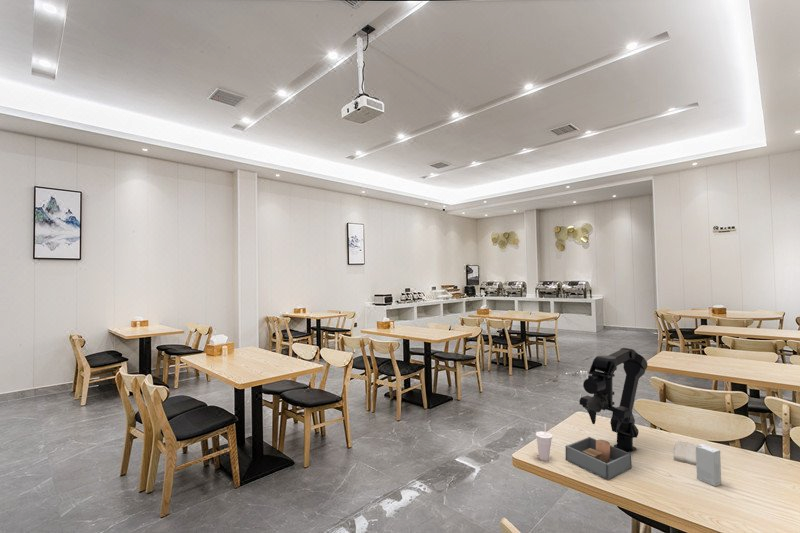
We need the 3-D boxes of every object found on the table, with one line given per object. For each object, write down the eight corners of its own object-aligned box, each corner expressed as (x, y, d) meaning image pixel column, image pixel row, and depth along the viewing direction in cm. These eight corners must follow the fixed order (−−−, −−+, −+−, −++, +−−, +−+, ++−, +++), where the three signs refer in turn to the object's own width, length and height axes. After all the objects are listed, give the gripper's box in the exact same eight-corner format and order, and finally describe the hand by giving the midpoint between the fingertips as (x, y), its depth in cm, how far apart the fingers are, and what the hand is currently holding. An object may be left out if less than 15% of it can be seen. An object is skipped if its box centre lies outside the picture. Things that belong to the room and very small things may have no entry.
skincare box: (721, 484, 142) (721, 449, 142) (714, 487, 140) (714, 452, 140) (702, 475, 148) (702, 442, 147) (695, 478, 146) (695, 445, 145)
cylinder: (600, 455, 162) (600, 438, 162) (612, 461, 157) (612, 443, 157) (593, 459, 159) (593, 441, 159) (605, 464, 155) (605, 446, 155)
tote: (589, 450, 168) (589, 436, 168) (631, 468, 153) (631, 453, 153) (565, 459, 160) (565, 445, 160) (607, 480, 145) (607, 464, 145)
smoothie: (553, 463, 158) (553, 427, 157) (536, 461, 159) (536, 426, 159) (551, 455, 164) (551, 421, 164) (534, 454, 165) (534, 420, 165)
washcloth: (711, 453, 166) (711, 445, 166) (711, 471, 152) (711, 463, 152) (676, 445, 173) (676, 438, 173) (673, 461, 159) (673, 453, 159)
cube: (590, 460, 158) (590, 447, 158) (602, 466, 154) (602, 453, 154) (582, 464, 156) (582, 451, 155) (594, 469, 151) (594, 456, 151)
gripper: (570, 386, 164) (570, 424, 164) (615, 399, 148) (615, 441, 148) (587, 381, 170) (587, 418, 170) (632, 394, 154) (632, 434, 154)
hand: (604, 427), depth 160 cm, fingers open, 9 cm apart
